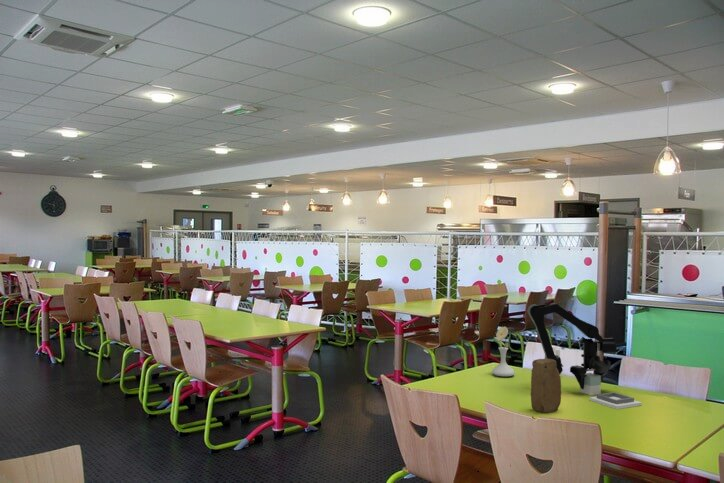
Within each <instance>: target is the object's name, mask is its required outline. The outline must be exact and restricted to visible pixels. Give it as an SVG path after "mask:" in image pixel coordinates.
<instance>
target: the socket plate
mask: <svg viewBox="0 0 724 483" xmlns="http://www.w3.org/2000/svg"><path fill="white" fill-rule="evenodd" d="M588 398H589V399H588V401H591V402H594V403H596V404H599V405H602V406H605V407H609V408H612V409H615V410H621V409H622V410H623V409H627V408H634V407H635V408H636V407H640V405H641V406H643V405H642V404H643V403H642V402H641V401H638V400H635V397H631V396H628V395H625V394H622V393H618V392H614V391H612V392H606V393H605V392H604V393H601V394H596V395H595V396H590V397H588Z"/></svg>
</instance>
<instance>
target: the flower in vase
mask: <svg viewBox="0 0 724 483" xmlns="http://www.w3.org/2000/svg"><path fill="white" fill-rule="evenodd" d="M508 333H509V329H508V327H507V326H501V327H500V328H499V329H498V330H497V331H496V335H495V336H496V338H495V340H497V341H498V342H499V343H500V344H501V345H503V346H501V347H500V346H498V351H499V353H500V363H498V364H497V365H496V366H495V367H494V368H492V370H491V373H492V375H494V376H498V377H511V376H515V374H516V372H515V370H514V369H513V368H512V367H511V366H510V365H508V363H507V361H506V360H507V359H506V358H507V357H506V356H507V351H508V350H509V347H510V345H509V342H507V338H506V337H507V336H508ZM504 340H505V342H503V341H504Z"/></svg>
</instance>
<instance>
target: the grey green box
mask: <svg viewBox="0 0 724 483" xmlns="http://www.w3.org/2000/svg"><path fill="white" fill-rule="evenodd" d="M585 375H587V376H586V377H585V379H584V389H581V387H580V386H579V392H580V393H582V394H585V395H590V396H597V394H602V392H601V391H602V389H601V387H602V386H601V385H602V381H601V376H600V375H596V374H594V372H593V373H592V372H586V374H585Z"/></svg>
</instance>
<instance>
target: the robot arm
mask: <svg viewBox="0 0 724 483" xmlns="http://www.w3.org/2000/svg"><path fill="white" fill-rule="evenodd" d="M526 310H527V314H528V316H529V317H530V319H531V321H532V323H533V325H534V326H535V329H536V331H537V335H538V337H539V340H540V341H539V342H540V344H541V347H542V349H543V353H544V358H547V359H553V360H555V361H556V365H557V366H556V367H557V370H558V372H559V375H560V376H561V374H562V372H563V371H564V370H563V367H564V365H563V363H562V359H561V356H560V357H559V356H558V355H556V356H555V354H554V351H553V348H552V346H553V345H552V343H551V339H550V337H549V334H548V331H547V328H546V325H545V316H546V315H550V314H554V313H555V314H556V315H557V316H559V317H560V318H562V319H563V320H565V321H567V322H569V323H570V324H571V325H573V326H574V327H575V328H577V330H578V331H579V332H581V333H582V335H583V336H582V337H581V338H580V339H578V342H579V343H581V344H583V345H582V346H583V353H582V354H580V356H581V357H582V358H583V362H582V363H581V364H580V365H571V366H570V367H569V372H570V373H572V375H573V376H574V378H575V379H576V381H577V382H578V384H579V388H580V387H581V389H584V379H585V377H586V376H587V375H585V374H586V373H588V372H591V371H593V374H596V375H600V376H601V382H602V381H603V378H604V377H605V375H607V374H609V372H611V368H612V364H611V363H612V362H611V361H610V360H601V357H600V355H598V351H599V352H600V353H601V354H616V353H617V344H616V341H615V340H616V339H615V338H613V337H602V335H601V334H600V332H599V328H598V327H597V326H595V325H593V324H592V323H589V322H586V321H585V320H582V319H580V318H578V317H577V316H575V315H574V314H573V313H572V312H571V313H570V312H569V311H568V310H566V309H564V307H561V306H560V305H559V304H557V303H556V302H551V303H545V304H535V303H533V304H530V305H529V306H528V308H527V309H526ZM584 336H585V337H588V338H585V337H584ZM593 339H594V340H593ZM562 370H563V371H562Z"/></svg>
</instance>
